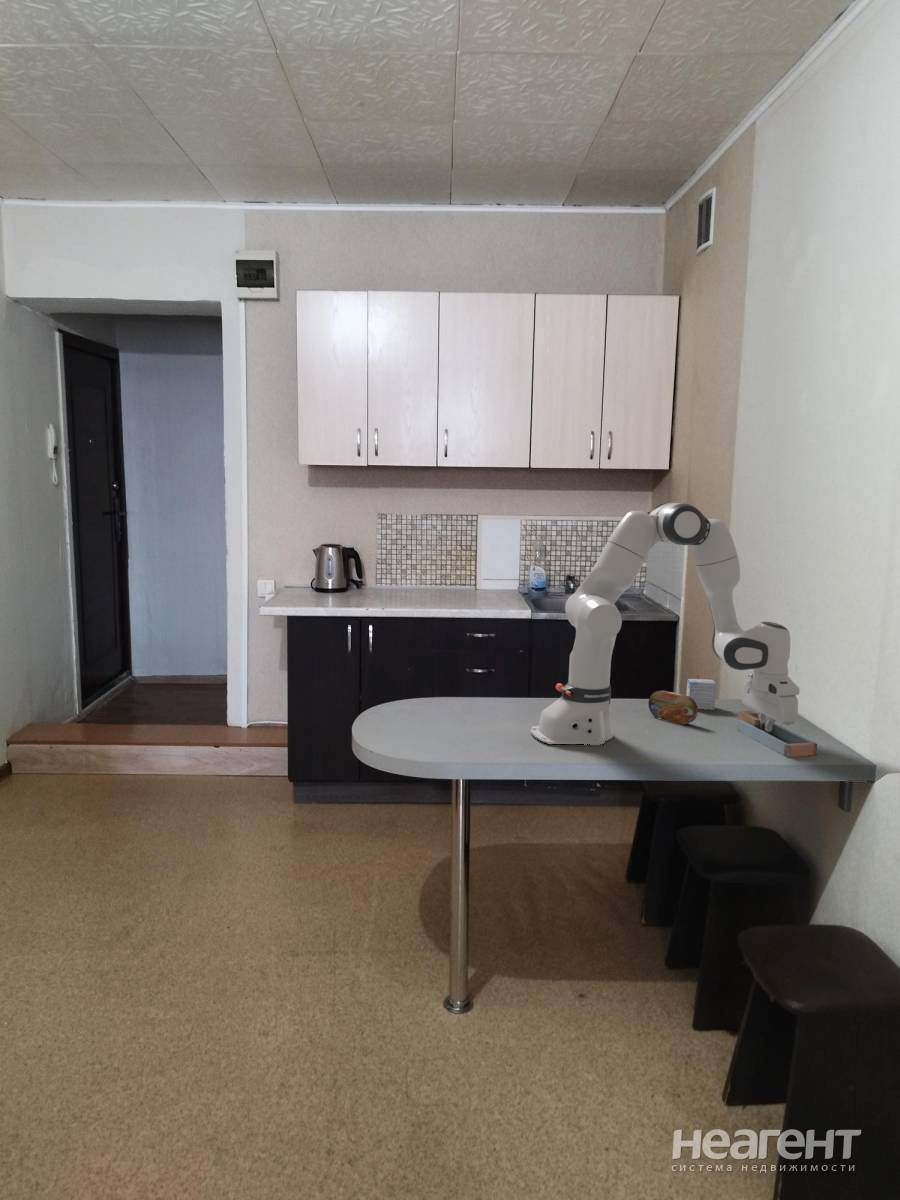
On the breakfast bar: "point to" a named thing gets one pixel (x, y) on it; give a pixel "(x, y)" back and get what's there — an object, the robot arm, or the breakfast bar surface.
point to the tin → (673, 707)
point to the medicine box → (702, 692)
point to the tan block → (751, 718)
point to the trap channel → (794, 749)
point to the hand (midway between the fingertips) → (765, 730)
